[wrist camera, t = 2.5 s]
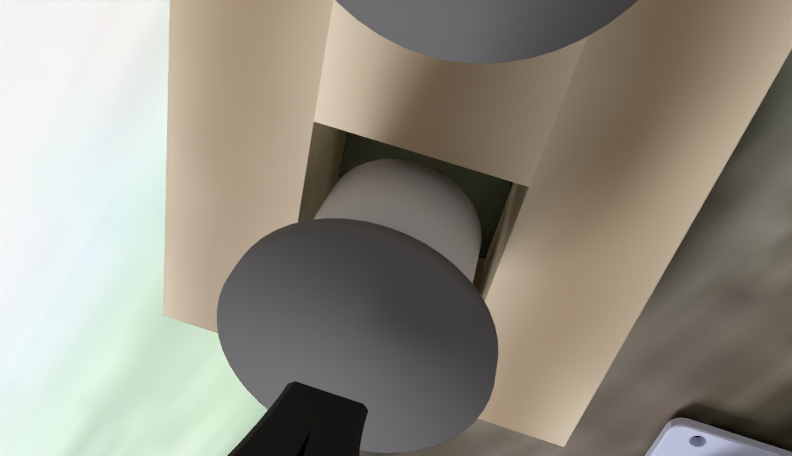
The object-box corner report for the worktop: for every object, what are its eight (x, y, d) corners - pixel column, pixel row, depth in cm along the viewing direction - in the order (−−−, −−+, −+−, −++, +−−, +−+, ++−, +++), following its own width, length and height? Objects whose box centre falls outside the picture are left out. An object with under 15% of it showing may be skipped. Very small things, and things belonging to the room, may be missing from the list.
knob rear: (547, 169, 15) (537, 291, 12) (477, 344, 18) (452, 484, 15) (310, 97, 16) (226, 194, 12) (282, 281, 19) (208, 402, 15)
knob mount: (965, -434, 11) (1117, -521, 8) (566, 350, 22) (563, 446, 19) (291, -591, 12) (185, -729, 9) (222, 240, 23) (163, 315, 20)
